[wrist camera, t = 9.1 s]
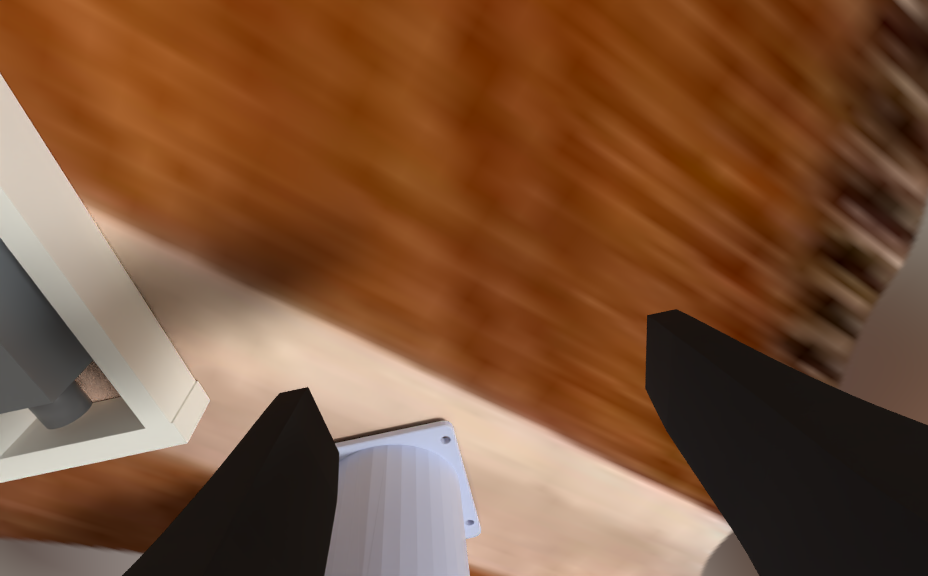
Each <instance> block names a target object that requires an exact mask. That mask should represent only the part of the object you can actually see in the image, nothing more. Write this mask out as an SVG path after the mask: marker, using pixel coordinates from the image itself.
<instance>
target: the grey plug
mask: <svg viewBox="0 0 928 576" xmlns="http://www.w3.org/2000/svg"><path fill="white" fill-rule="evenodd" d="M92 361H93V359H92V357H91V356H90V355H89V353H88V352H87V351H86V350H85V348H84V347H83V346H82V344H81V343H80V342H79V340H78V339H77V338H76V336H75V335H74V334H73V332H72V331H71V330H70V329H69V327H68V326H67V325H66V323H65V322H64V321H63V319H62V318H61V317H60V315H59V314H58V313H57V311H56V310H55V309H54V308H53V306H52V305H51V304H50V302H49V301H48V300H47V298H46V297H45V296H44V294H43V293H42V292H41V290H40V289H39V288H38V287H37V285H36V284H35V283H34V281H33V280H32V279H31V277H30V276H29V275H28V273H27V272H26V271H25V270H24V268H23V267H22V266H21V264H20V263H19V262H18V260H17V259H16V258H15V256H14V255H13V254H12V252H11V251H10V250H9V249H8V247H7V246H6V245H5V243H4V242H3V241H2V239H1V238H0V414H3V413H7V412H12V411H17V410H22V409H26V408H28V409H29V410H30V411H31V412H32V413H33V414H34V415H35V416H36V417H37V418H38V420H39V421H40V422H41V423H42V424H43V425H44V426H45V427H46V428H47V429H57V428H61V427H63V426H66V425H68V424H70V423H72V422H74V421H75V420H77V419H78V418H80V417H81V416H83V415H84V414H85V413H86V412H87V411H88V410H89V409H90V407H91V405H92V401H91V399H90V398H89V397H88V396H87V395H86V393H85V392H84V391H83V390H82V388H81V387H80V386H79V385H78V384H77V382H76V381H75V379H76V378H77V377H78V376H79V375H80V374H81V373H82V371H83V370H84V369H85V368H86V367H87V366H88V365H89V364H90V363H91V362H92Z"/></svg>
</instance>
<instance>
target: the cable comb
mask: <svg viewBox="0 0 928 576" xmlns="http://www.w3.org/2000/svg"><path fill="white" fill-rule="evenodd" d="M0 238H1V239H2V241H3V242H4V243H5V245H6V246H7V247H8V249H9V250H10V251H11V252H12V254H13V255H14V256H15V258H16V259H17V260H18V262H19V263H20V264H21V266H22V267H23V268H24V270H25V271H26V272H27V273H28V275H29V276H30V277H31V279H32V280H33V281H34V283H35V284H36V285H37V287H38V288H39V289H40V290H41V292H42V293H43V294H44V296H45V297H46V298H47V300H48V301H49V302H50V304H51V305H52V306H53V308H54V309H55V310H56V311H57V313H58V314H59V315H60V317H61V318H62V319H63V321H64V322H65V323H66V325H67V326H68V327H69V329H70V330H71V331H72V332H73V334H74V335H75V336H76V338H77V339H78V340H79V342H80V343H81V344H82V346H83V347H84V348H85V350H86V351H87V352H88V353H89V355H90V356H91V357H92V359H93V360H94V361H95V363H96V364H97V365H98V367H99V368H100V369H101V371H102V372H103V373H104V374H105V376H106V377H107V378H108V380H109V381H110V382H111V384H112V385H113V386H114V388H115V389H116V390H117V392H118V393H119V394H120V395H121V397H118V398H113V399H108V400H104V401H99V402H94V403H92V405H91V407H90V409H89V410H88V411H87V412H86V413H85V414H84V415H83V416H81V417H80V418H78V419H77V420H75V421H74V422H72V423H70V424H68V425H66V426H63V427H61V428H57V429H47V428H46V427H45V426H44V425H43V424H42V423H41V422H40V421H39V420H38V418H37V417H36V416H35V415H34V414H33V413H32V412H31V411H30V410H29V409H28V408H26V409H22V410H17V411H12V412H7V413H3V414H0V483H1V482H6V481H11V480H16V479H20V478H25V477H30V476H35V475H39V474H44V473H49V472H54V471H58V470H63V469H68V468H72V467H77V466H82V465H87V464H91V463H96V462H101V461H106V460H110V459H115V458H120V457H125V456H129V455H134V454H139V453H144V452H148V451H153V450H158V449H163V448H167V447H172V446H177V445H182V444H186V443H188V441H189V439H190V438H191V436H192V434H193V432H194V430H195V428H196V426H197V424H198V422H199V421H200V419H201V417H202V415H203V413H204V411H205V409H206V407H207V406H208V404H209V402H210V399H209V397H208V396H207V394H206V393H205V391H204V389H203V388H202V386H201V385H200V383H199V382H198V381H195V379H194V378H193V376H192V374H191V373H190V371H189V370H188V368H187V367H186V365H185V363H184V362H183V360H182V359H181V357H180V356H179V354H178V352H177V351H176V349H175V348H174V346H173V345H172V343H171V341H170V340H169V338H168V337H167V335H166V334H165V332H164V330H163V329H162V327H161V326H160V324H159V323H158V321H157V319H156V318H155V316H154V315H153V313H152V312H151V310H150V308H149V307H148V305H147V304H146V302H145V301H144V299H143V297H142V296H141V294H140V293H139V291H138V289H137V288H136V286H135V285H134V283H133V282H132V280H131V278H130V277H129V275H128V274H127V272H126V271H125V269H124V267H123V266H122V264H121V263H120V261H119V260H118V258H117V256H116V255H115V253H114V252H113V250H112V249H111V247H110V245H109V244H108V242H107V241H106V239H105V238H104V236H103V234H102V233H101V231H100V230H99V228H98V227H97V225H96V223H95V222H94V220H93V219H92V217H91V216H90V214H89V212H88V211H87V209H86V208H85V206H84V205H83V203H82V201H81V200H80V198H79V197H78V195H77V194H76V192H75V190H74V189H73V187H72V186H71V184H70V182H69V181H68V179H67V178H66V176H65V175H64V173H63V171H62V170H61V168H60V167H59V165H58V164H57V162H56V160H55V159H54V157H53V156H52V154H51V153H50V151H49V149H48V148H47V146H46V145H45V143H44V142H43V140H42V138H41V137H40V135H39V134H38V132H37V131H36V129H35V127H34V126H33V124H32V123H31V121H30V120H29V118H28V116H27V115H26V113H25V112H24V110H23V109H22V107H21V105H20V104H19V102H18V101H17V99H16V98H15V96H14V94H13V93H12V91H11V90H10V88H9V87H8V85H7V83H6V82H5V80H4V79H3V77H2V75H1V74H0Z"/></svg>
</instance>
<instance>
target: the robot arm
mask: <svg viewBox="0 0 928 576" xmlns="http://www.w3.org/2000/svg"><path fill="white" fill-rule="evenodd" d="M645 388H646V390H647V393H648V395H649V397H650V399H651V401H652V403H653V405H654V407H655V409H656V411H657V413H658V415H659V417H660V419H661V421H662V423H663V425H664V427H665V429H666V431H667V432H668V434H669V435H670V437H671V438H672V440H673V441H674V443H675V444H676V446H677V448H678V449H679V451H680V452H681V454H682V455H683V457H684V458H685V460H686V461H687V463H688V464H689V466H690V467H691V469H692V470H693V472H694V473H695V475H696V476H697V478H698V479H699V481H700V482H701V484H702V485H703V487H704V488H705V490H706V491H707V493H708V494H709V496H710V497H711V499H712V500H713V501H714V503H715V504H716V506H717V507H718V509H719V510H720V512H721V513H722V515H723V516H724V518H725V519H726V521H727V522H728V524H729V525H730V527H731V528H732V530H733V531H734V533H735V535H736V536H737V538H738V540H739V541H740V543H741V544H742V546H743V548H744V549H745V551H746V553H747V554H748V556H749V558H750V559H751V561H752V563H753V565H754V567H755V569H756V570H757V572H758V574H759V576H928V425H926V424H923V423H920V422H918V421H915V420H913V419H910V418H907V417H905V416H902V415H900V414H897V413H894V412H892V411H889V410H887V409H884V408H882V407H879V406H876V405H874V404H872V403H869V402H867V401H864V400H862V399H860V398H857V397H855V396H852V395H850V394H848V393H846V392H843V391H841V390H839V389H837V388H834V387H832V386H830V385H828V384H825V383H823V382H821V381H819V380H817V379H814V378H812V377H810V376H808V375H806V374H804V373H801V372H799V371H797V370H795V369H793V368H791V367H789V366H787V365H785V364H783V363H781V362H779V361H777V360H774V359H772V358H770V357H768V356H766V355H764V354H763V353H761V352H759V351H757V350H755V349H753V348H751V347H749V346H747V345H745V344H743V343H741V342H739V341H737V340H735V339H733V338H731V337H730V336H728V335H726V334H724V333H722V332H720V331H718V330H716V329H714V328H712V327H710V326H709V325H707V324H705V323H703V322H701V321H699V320H697V319H695V318H693V317H691V316H689V315H687V314H685V313H683V312H681V311H679V310H677V309H675V310H670V311H666V312H661V313H656V314H651V315H647V346H646V385H645ZM444 436H448V437H446V438H443V437H444ZM480 533H481V527H480V522H479V519H478V515H477V512H476V508H475V504H474V501H473V497H472V493H471V490H470V486H469V482H468V479H467V475H466V472H465V468H464V464H463V461H462V457H461V453H460V450H459V446H458V442H457V439H456V435H455V432H454V428H453V425H452V423H450V422H449V421H438V422H434V423H429V424H424V425H419V426H415V427H410V428H405V429H400V430H396V431H391V432H386V433H381V434H377V435H372V436H367V437H362V438H358V439H353V440H348V441H343V442H339V443H334V441H333V438H332V436H331V434H330V432H329V430H328V428H327V426H326V424H325V422H324V420H323V417H322V415H321V413H320V411H319V409H318V407H317V405H316V403H315V401H314V399H313V396H312V394H311V392H310V390H309V388H308V387H307V388H302V389H297V390H292V391H288V392H283V393H279V394H278V396H277V397H276V398H275V399H274V400H273V401H272V403H271V404H270V405H269V406H268V407H267V409H266V410H265V411H264V412H263V414H262V415H261V416H260V417H259V419H258V420H257V421H256V422H255V424H254V425H253V426H252V427H251V429H250V430H249V431H248V433H247V434H246V435H245V436H244V438H243V439H242V440H241V441H240V443H239V444H238V445H237V446H236V448H235V449H234V450H233V451H232V452H231V454H230V455H229V456H228V457H227V459H226V460H225V461H224V462H223V464H222V465H221V466H220V467H219V468H218V470H217V471H216V472H215V473H214V475H213V476H212V477H211V478H210V480H209V481H208V482H207V483H206V484H205V485H204V487H203V488H202V489H201V490H200V491H199V492H198V493H197V495H196V496H195V497H194V498H193V499H192V500H191V501H190V503H189V504H188V505H187V506H186V507H185V508H184V509H183V511H182V512H181V513H180V514H179V515H178V516H177V517H176V519H175V520H174V521H173V522H172V523H171V524H170V525H169V527H168V528H167V529H166V530H165V531H164V532H163V533H162V535H161V536H160V537H159V538H158V539H157V540H156V541H155V542H154V543H153V544H152V545H151V546H150V547H149V548H148V550H147V551H146V552H145V553H144V554H143V555H142V556H141V557H140V558H139V559H138V560H137V561H136V562H135V563H134V564H133V565H132V566H131V568H129V569H128V571H126V572H125V573H124V574H123V575H122V576H470V573H469V564H468V555H467V546H466V539H468V538H472V537H476V536H478V535H479V534H480Z"/></svg>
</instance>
